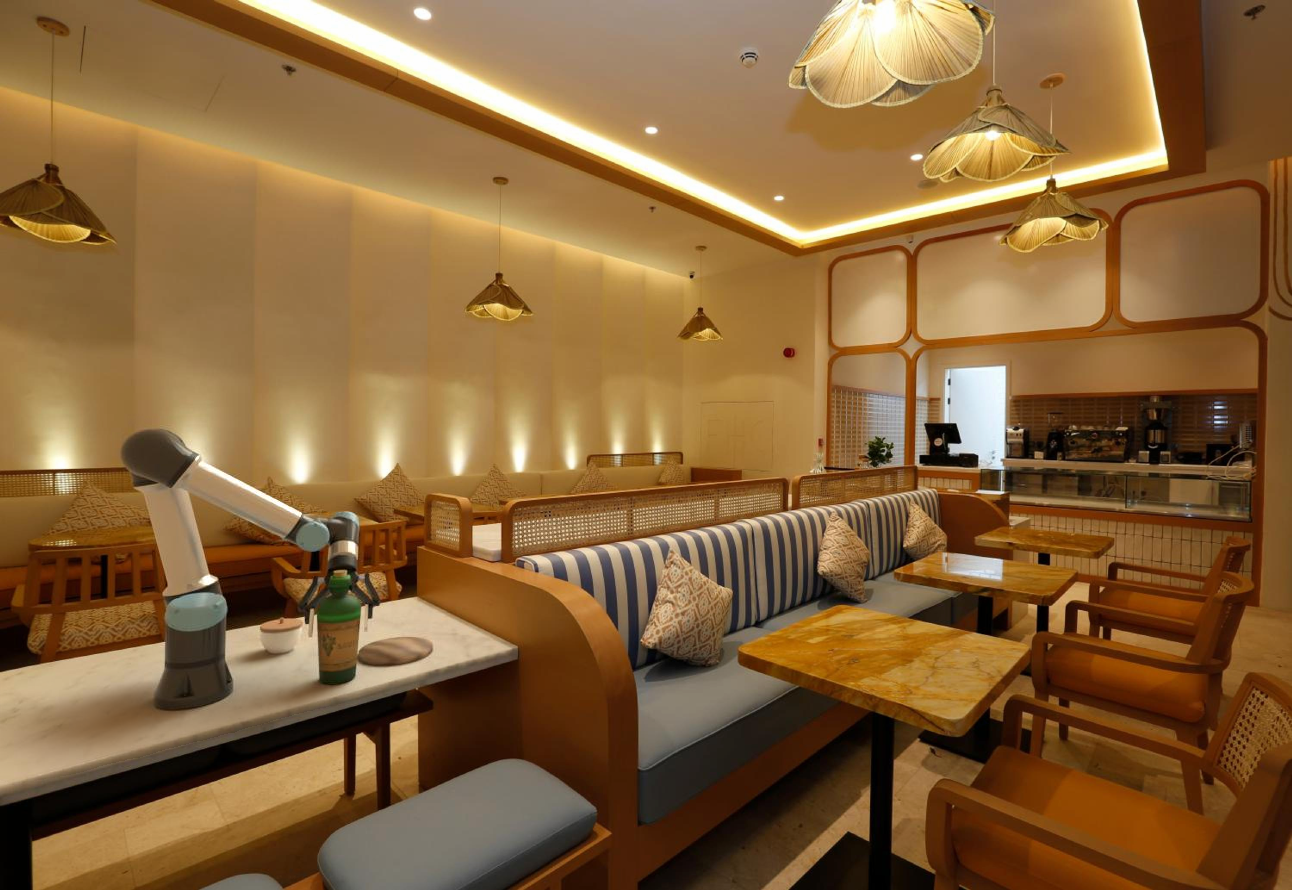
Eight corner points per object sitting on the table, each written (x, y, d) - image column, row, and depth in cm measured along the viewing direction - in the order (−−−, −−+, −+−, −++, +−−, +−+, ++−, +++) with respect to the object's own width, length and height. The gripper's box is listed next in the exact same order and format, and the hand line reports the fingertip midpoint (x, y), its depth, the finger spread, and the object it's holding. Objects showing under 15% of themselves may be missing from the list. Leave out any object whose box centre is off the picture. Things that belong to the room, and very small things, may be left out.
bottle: (319, 690, 148) (321, 577, 148) (310, 677, 157) (313, 570, 157) (365, 680, 155) (367, 572, 155) (354, 668, 163) (357, 565, 163)
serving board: (394, 670, 163) (394, 664, 163) (342, 657, 171) (342, 652, 171) (447, 648, 181) (447, 643, 181) (398, 637, 189) (398, 633, 189)
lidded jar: (287, 657, 171) (288, 624, 171) (250, 655, 171) (251, 622, 171) (309, 644, 181) (310, 613, 181) (274, 643, 182) (275, 612, 182)
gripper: (389, 566, 175) (389, 634, 161) (293, 571, 165) (284, 644, 151) (390, 551, 170) (390, 619, 156) (291, 555, 160) (282, 629, 146)
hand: (338, 632), depth 154 cm, fingers open, 12 cm apart
